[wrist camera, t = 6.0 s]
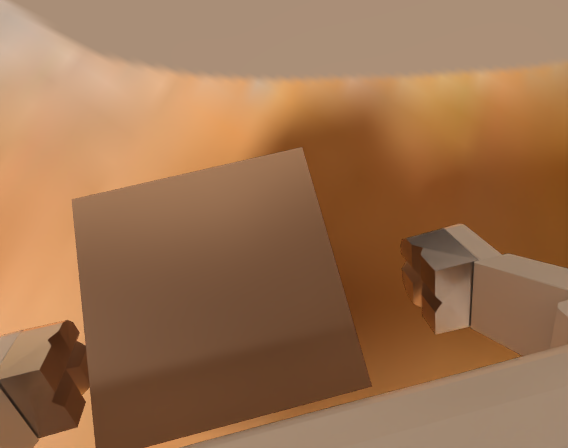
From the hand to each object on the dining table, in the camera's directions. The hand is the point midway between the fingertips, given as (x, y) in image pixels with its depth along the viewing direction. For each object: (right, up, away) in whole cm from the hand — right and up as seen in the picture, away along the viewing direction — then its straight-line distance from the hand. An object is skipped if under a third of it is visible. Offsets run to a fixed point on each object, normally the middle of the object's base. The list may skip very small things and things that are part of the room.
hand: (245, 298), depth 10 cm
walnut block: (0, -2, +5) cm, 5 cm away
